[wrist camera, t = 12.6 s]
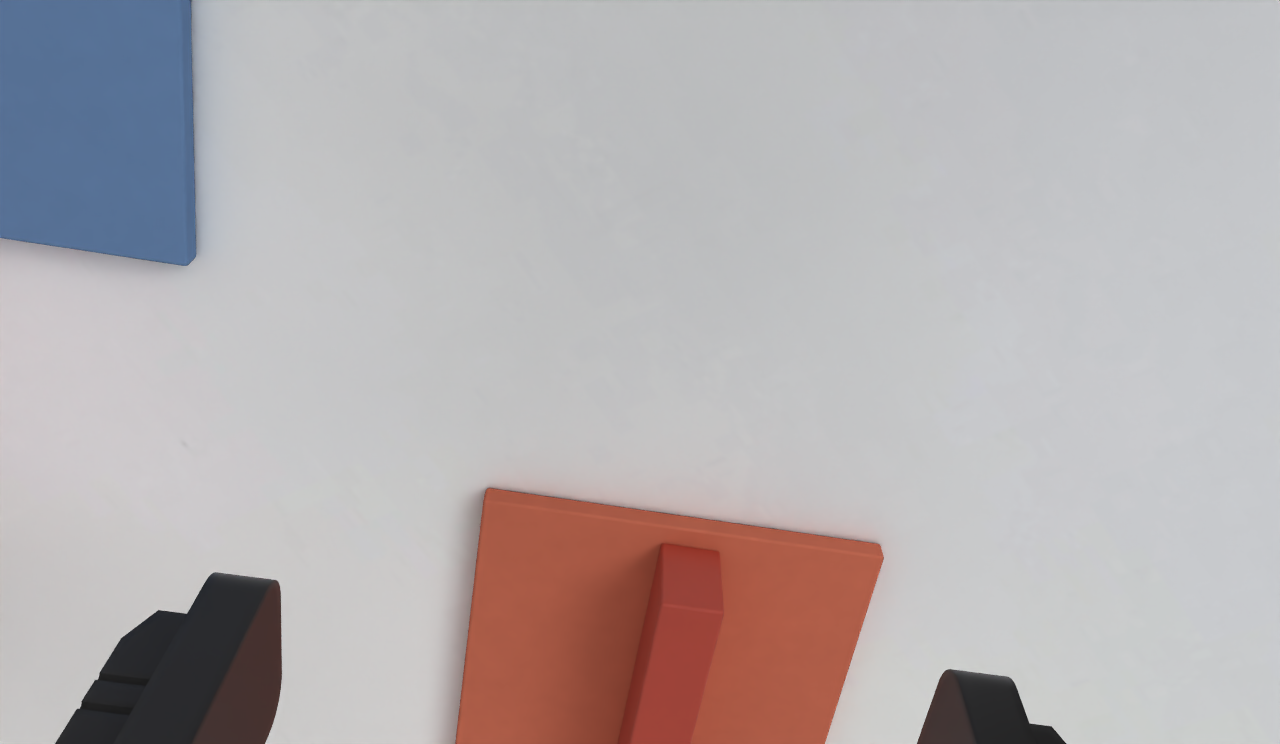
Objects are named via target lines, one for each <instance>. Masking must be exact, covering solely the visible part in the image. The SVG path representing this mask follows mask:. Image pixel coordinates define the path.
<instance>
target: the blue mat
mask: <svg viewBox="0 0 1280 744" xmlns="http://www.w3.org/2000/svg"><path fill="white" fill-rule="evenodd" d="M0 238H4V239H11V240H17V241H24V242H31V243H37V244H44V245H50V246H57V247H64V248H70V249H77V250H83V251H90V252H96V253H103V254H110V255H116V256H123V257H129V258H136V259H143V260H149V261H156V262H162V263H169V264H176V265H182V266H187V265H188V264H189V263H190V262H191V261H192V260H193V259H194V258H195V257H196V234H195V188H194V141H193V95H192V49H191V3H190V0H0Z"/></svg>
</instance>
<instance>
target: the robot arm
mask: <svg viewBox="0 0 1280 744" xmlns="http://www.w3.org/2000/svg"><path fill="white" fill-rule="evenodd" d="M281 680H282V656H281V592H280V586H279V583H278V581H276V580H271V579H263V578H255V577H247V576H240V575H232V574H224V573H216V572H215V573H213V574H211V575H210V576H209V577H208V579H207V580H206V582H205V583H204V585H203V587H202V589H201V590H200V592H199V594H198V596H197V597H196V599H195V601H194V603H193V605H192V606H191V608H190V610H189V612H188V613H187V614H184V613H176V612H168V611H160V610H158V611H157V612H155V613H154V614H153V615H152V616H150V617H149V618H148V619H146V620H145V621H144V622H142V623H141V624H140V625H138V626H137V627H136V628H134V629H133V630H132V631H130V632H129V633H128V634H126V635H125V636H124V637H122V638H121V640H120V641H119V643H118V644H117V646H116V648H115V649H114V651H113V652H112V654H111V656H110V657H109V659H108V660H107V662H106V664H105V665H104V667H103V668H102V670H101V672H100V675H99V679H98V680H95V681H94V683H93V684H92V686H91V687H90V689H89V691H88V692H87V694H86V695H85V697H84V699H83V700H82V704H81V707H80V709H77V710H76V711H75V713H74V714H73V716H72V718H71V719H70V721H69V722H68V724H67V726H66V727H65V729H64V730H63V732H62V734H61V735H60V737H59V738H58V740H57V742H56V743H55V744H265V742H266V740H267V737H268V735H269V733H270V730H271V727H272V725H273V721H274V718H275V715H276V711H277V706H278V702H279V696H280V690H281ZM917 744H1066V743H1065V742H1064V741H1063V739H1062V738H1061V737H1060V736H1059V735H1058V733H1057V732H1056V731H1055V730H1054V729H1053V728H1052V726H1044V725H1036V724H1029V721H1028V719H1027V716H1026V713H1025V710H1024V707H1023V705H1022V702H1021V699H1020V696H1019V693H1018V690H1017V688H1016V686H1015V684H1014V682H1013V680H1012V679H1011V678H1009V677H1006V676H998V675H990V674H982V673H975V672H967V671H959V670H951V669H948V670H946V671H945V672H944V673H943V674H942V676H941V678H940V680H939V682H938V685H937V688H936V691H935V694H934V697H933V700H932V702H931V705H930V708H929V711H928V714H927V717H926V719H925V722H924V725H923V728H922V731H921V734H920V737H919V739H918V742H917Z"/></svg>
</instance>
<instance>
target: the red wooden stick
mask: <svg viewBox="0 0 1280 744" xmlns="http://www.w3.org/2000/svg"><path fill="white" fill-rule="evenodd" d="M723 617H724V602H723V588H722V574H721V559H720V553H719V552H718V551H713V550H706V549H700V548H693V547H686V546H680V545H673V544H666V543H662V545H661V546H660V550H659V555H658V560H657V564H656V569H655V574H654V578H653V583H652V587H651V592H650V597H649V601H648V606H647V610H646V615H645V620H644V624H643V629H642V634H641V638H640V643H639V647H638V652H637V657H636V661H635V666H634V671H633V675H632V680H631V684H630V689H629V694H628V698H627V703H626V707H625V712H624V717H623V721H622V726H621V731H620V735H619V740H618V744H691V741H692V737H693V733H694V730H695V726H696V722H697V718H698V714H699V710H700V706H701V702H702V698H703V694H704V691H705V687H706V683H707V679H708V675H709V671H710V667H711V663H712V659H713V656H714V652H715V648H716V644H717V640H718V636H719V632H720V628H721V624H722V620H723Z"/></svg>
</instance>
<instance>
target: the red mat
mask: <svg viewBox="0 0 1280 744" xmlns="http://www.w3.org/2000/svg"><path fill="white" fill-rule="evenodd" d="M662 543H666V544H673V545H680V546H686V547H693V548H700V549H706V550H713V551H718V552H719V553H720V559H721V574H722V588H723V602H724V617H723V620H722V624H721V628H720V632H719V636H718V640H717V644H716V648H715V652H714V656H713V659H712V663H711V667H710V671H709V675H708V679H707V683H706V687H705V691H704V694H703V698H702V702H701V706H700V710H699V714H698V718H697V722H696V726H695V730H694V733H693V737H692V741H691V744H825V741H826V738H827V735H828V732H829V728H830V725H831V722H832V719H833V716H834V713H835V710H836V706H837V703H838V700H839V697H840V694H841V691H842V688H843V684H844V681H845V678H846V675H847V672H848V669H849V666H850V662H851V659H852V656H853V653H854V650H855V647H856V644H857V640H858V637H859V634H860V631H861V628H862V625H863V622H864V618H865V615H866V612H867V609H868V606H869V603H870V600H871V596H872V593H873V590H874V587H875V584H876V581H877V578H878V574H879V571H880V568H881V565H882V562H883V559H884V557H883V553H882V550H881V546H880V545H879V544H875V543H868V542H861V541H854V540H847V539H840V538H833V537H826V536H819V535H812V534H805V533H798V532H791V531H784V530H778V529H771V528H764V527H757V526H750V525H743V524H736V523H729V522H722V521H715V520H708V519H701V518H694V517H687V516H680V515H673V514H666V513H659V512H652V511H645V510H638V509H631V508H624V507H617V506H610V505H603V504H596V503H589V502H582V501H575V500H568V499H561V498H554V497H547V496H540V495H533V494H526V493H519V492H512V491H505V490H498V489H491V488H488V489H487V490H486V492H485V496H484V500H483V508H482V517H481V526H480V534H479V543H478V552H477V560H476V569H475V578H474V586H473V595H472V604H471V612H470V621H469V630H468V639H467V647H466V656H465V665H464V673H463V682H462V691H461V699H460V708H459V717H458V725H457V734H456V743H455V744H618V740H619V735H620V731H621V726H622V721H623V717H624V712H625V707H626V703H627V698H628V694H629V689H630V684H631V680H632V675H633V671H634V666H635V661H636V657H637V652H638V647H639V643H640V638H641V634H642V629H643V624H644V620H645V615H646V610H647V606H648V601H649V597H650V592H651V587H652V583H653V578H654V574H655V569H656V564H657V560H658V555H659V550H660V546H661V545H662Z"/></svg>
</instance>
